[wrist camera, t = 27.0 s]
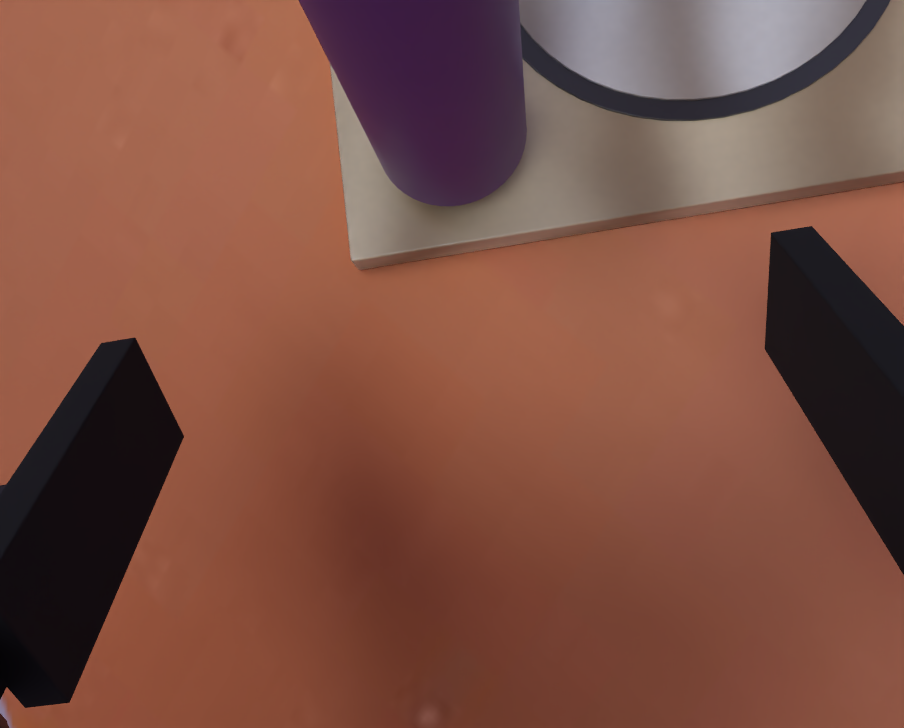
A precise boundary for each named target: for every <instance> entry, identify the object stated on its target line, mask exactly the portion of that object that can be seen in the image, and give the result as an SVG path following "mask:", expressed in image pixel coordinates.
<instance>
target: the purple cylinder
mask: <svg viewBox="0 0 904 728" xmlns="http://www.w3.org/2000/svg"><path fill="white" fill-rule="evenodd" d="M299 2H300V4H301V6H302V8H303V10H304V12H305V14H306V16H307V18H308V20H309V22H310V24H311V26H312V28H313V30H314V32H315V34H316V36H317V38H318V40H319V42H320V44H321V46H322V48H323V50H324V52H325V54H326V56H327V58H328V60H329V62H330V64H331V66H332V68H333V70H334V72H335V74H336V76H337V78H338V80H339V82H340V84H341V86H342V88H343V90H344V92H345V94H346V96H347V98H348V100H349V102H350V104H351V106H352V108H353V110H354V112H355V114H356V116H357V117H358V119H359V121H360V123H361V125H362V127H363V129H364V131H365V133H366V135H367V137H368V139H369V141H370V143H371V145H372V147H373V149H374V151H375V153H376V155H377V157H378V159H379V161H380V163H381V165H382V167H383V169H384V171H385V173H386V175H387V176H388V177H389V179H390V180H391V182H392V183H393V184H394V185H395V186H396V187H397V188H398V189H400V190H401V191H402V192H403V193H405V194H406V195H408V196H410V197H411V198H413V199H415V200H418V201H420V202H423V203H426V204H430V205H436V206H459V205H464V204H468V203H472V202H475V201H477V200H480V199H482V198H484V197H486V196H488V195H489V194H491V193H492V192H494V191H495V190H497V189H498V188H499V187H500V186H501V185H503V184H504V183H505V182H506V181H507V179H508V178H509V177H510V176H511V175H512V173H513V172H514V170H515V169H516V168H517V166H518V164H519V162H520V160H521V158H522V155H523V152H524V149H525V144H526V136H527V125H526V109H525V93H524V77H523V61H522V44H521V28H520V12H519V0H299Z"/></svg>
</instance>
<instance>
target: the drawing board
mask: <svg viewBox="0 0 904 728" xmlns="http://www.w3.org/2000/svg"><path fill="white" fill-rule="evenodd" d="M519 12H520V28H521V44H522V61H523V77H524V93H525V109H526V125H527V136H526V144H525V149H524V152H523V155H522V158H521V160H520V162H519V164H518V166H517V168H516V169H515V170H514V172H513V173H512V175H511V176H510V177H509V178H508V179H507V181H506V182H505V183H504V184H503V185H501V186H500V187H499V188H498V189H497V190H495V191H494V192H492V193H491V194H489V195H488V196H486V197H484V198H482V199H480V200H477V201H475V202H472V203H468V204H464V205H459V206H436V205H430V204H426V203H423V202H420V201H418V200H415V199H413V198H411V197H410V196H408V195H406V194H405V193H403V192H402V191H401V190H400V189H398V188H397V187H396V186H395V185H394V184H393V183H392V182H391V180H390V179H389V177H388V176H387V175H386V173H385V171H384V169H383V167H382V165H381V163H380V161H379V159H378V157H377V155H376V153H375V151H374V149H373V147H372V145H371V143H370V141H369V139H368V137H367V135H366V133H365V131H364V129H363V127H362V125H361V123H360V121H359V119H358V117H357V116H356V114H355V112H354V110H353V108H352V106H351V104H350V102H349V100H348V98H347V96H346V94H345V92H344V90H343V88H342V86H341V84H340V82H339V80H338V78H337V76H336V74H335V72H334V70H333V68H332V66H331V64H330V70H331V79H332V89H333V98H334V107H335V117H336V126H337V135H338V145H339V154H340V163H341V173H342V182H343V191H344V201H345V210H346V219H347V229H348V238H349V248H350V257H351V261H352V262H353V264H354V265H355V266H356V267H357V268H358V270H363V269H369V268H375V267H382V266H388V265H394V264H400V263H406V262H412V261H419V260H425V259H431V258H437V257H443V256H449V255H455V254H462V253H468V252H474V251H480V250H486V249H492V248H499V247H505V246H511V245H517V244H523V243H529V242H536V241H542V240H548V239H554V238H560V237H566V236H573V235H579V234H585V233H591V232H597V231H603V230H610V229H616V228H622V227H628V226H634V225H640V224H647V223H653V222H659V221H665V220H671V219H677V218H683V217H690V216H696V215H702V214H708V213H714V212H720V211H727V210H733V209H739V208H745V207H751V206H757V205H764V204H770V203H776V202H782V201H788V200H794V199H801V198H807V197H813V196H819V195H825V194H831V193H838V192H844V191H850V190H856V189H862V188H868V187H875V186H881V185H887V184H893V183H899V182H904V0H519Z"/></svg>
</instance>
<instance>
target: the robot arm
mask: <svg viewBox="0 0 904 728" xmlns="http://www.w3.org/2000/svg"><path fill="white" fill-rule="evenodd" d="M765 350H766V352H767V353H768V355H769V357H770V358H771V360H772V361H773V363H774V365H775V366H776V368H777V370H778V371H779V373H780V374H781V376H782V378H783V379H784V381H785V383H786V384H787V386H788V387H789V389H790V391H791V392H792V394H793V396H794V397H795V399H796V400H797V402H798V404H799V405H800V407H801V409H802V410H803V412H804V413H805V415H806V417H807V418H808V420H809V422H810V423H811V425H812V426H813V428H814V430H815V431H816V433H817V435H818V436H819V438H820V439H821V441H822V443H823V444H824V446H825V448H826V449H827V451H828V452H829V454H830V456H831V457H832V459H833V461H834V462H835V464H836V465H837V467H838V469H839V470H840V472H841V474H842V475H843V477H844V479H845V480H846V482H847V483H848V485H849V487H850V488H851V490H852V492H853V493H854V495H855V496H856V498H857V500H858V501H859V503H860V505H861V506H862V508H863V509H864V511H865V513H866V514H867V516H868V518H869V519H870V521H871V522H872V524H873V526H874V527H875V529H876V531H877V532H878V534H879V535H880V537H881V539H882V540H883V542H884V544H885V545H886V547H887V548H888V550H889V552H890V553H891V555H892V557H893V558H894V560H895V561H896V563H897V565H898V566H899V568H900V570H901V571H902V573H903V574H904V326H903V325H902V324H901V323H900V322H899V320H898V319H897V318H896V317H895V316H894V315H893V314H892V313H891V312H890V311H889V310H888V308H887V307H886V306H885V305H884V304H883V303H882V302H881V301H880V300H879V299H878V298H877V297H876V295H875V294H874V293H873V292H872V291H871V290H870V289H869V288H868V287H867V286H866V285H865V284H864V282H863V281H862V280H861V279H860V278H859V277H858V276H857V275H856V274H855V273H854V272H853V271H852V269H851V268H850V267H849V266H848V265H847V264H846V263H845V262H844V261H843V260H842V259H841V258H840V256H839V255H838V254H837V253H836V252H835V251H834V250H833V249H832V248H831V247H830V246H829V245H828V243H827V242H826V241H825V240H824V239H823V238H822V237H821V236H820V235H819V234H818V233H817V232H816V230H815V229H814V228H813V227H812V226H810V227H804V228H798V229H792V230H785V231H779V232H773V233H771V245H770V264H769V282H768V300H767V318H766V336H765ZM183 438H184V436H183V433H182V431H181V429H180V427H179V425H178V423H177V421H176V419H175V417H174V415H173V413H172V411H171V409H170V407H169V405H168V403H167V401H166V399H165V397H164V395H163V393H162V391H161V389H160V387H159V385H158V383H157V381H156V379H155V377H154V375H153V373H152V371H151V369H150V366H149V364H148V362H147V360H146V358H145V356H144V354H143V352H142V350H141V348H140V346H139V344H138V342H137V340H136V338H130V339H124V340H118V341H112V342H106V343H101V344H100V346H99V347H98V349H97V350H96V352H95V353H94V355H93V356H92V358H91V359H90V361H89V362H88V364H87V365H86V367H85V368H84V370H83V371H82V373H81V374H80V376H79V377H78V379H77V380H76V382H75V383H74V385H73V386H72V388H71V389H70V391H69V392H68V394H67V395H66V397H65V398H64V400H63V401H62V403H61V404H60V406H59V407H58V409H57V410H56V411H55V413H54V414H53V416H52V417H51V419H50V420H49V422H48V423H47V425H46V426H45V428H44V429H43V431H42V432H41V434H40V435H39V437H38V438H37V440H36V441H35V443H34V444H33V446H32V447H31V449H30V450H29V452H28V453H27V455H26V456H25V458H24V459H23V461H22V462H21V464H20V465H19V467H18V468H17V470H16V471H15V473H14V474H13V476H12V477H11V479H10V480H9V482H8V483H7V485H1V486H0V699H1V697H2V695H3V693H4V691H5V689H6V687H8V689H9V690H10V691H11V692H12V693H13V694H14V695H15V697H16V698H17V699H18V700H19V701H20V702H21V704H22V705H23V706H24V707H25V708H27V707H36V706H44V705H53V704H61V703H70V700H71V698H72V696H73V693H74V691H75V689H76V686H77V684H78V682H79V679H80V677H81V675H82V672H83V670H84V668H85V665H86V663H87V661H88V658H89V656H90V654H91V651H92V649H93V647H94V644H95V642H96V640H97V638H98V635H99V633H100V631H101V628H102V626H103V624H104V621H105V619H106V617H107V614H108V612H109V610H110V607H111V605H112V603H113V600H114V598H115V596H116V593H117V591H118V589H119V586H120V584H121V582H122V579H123V577H124V575H125V572H126V570H127V568H128V565H129V563H130V561H131V558H132V556H133V554H134V551H135V549H136V547H137V544H138V542H139V540H140V538H141V535H142V533H143V531H144V528H145V526H146V524H147V521H148V519H149V517H150V514H151V512H152V510H153V507H154V505H155V503H156V500H157V498H158V496H159V493H160V491H161V489H162V486H163V484H164V482H165V479H166V477H167V475H168V472H169V470H170V468H171V465H172V463H173V461H174V458H175V456H176V454H177V451H178V449H179V447H180V444H181V442H182V440H183ZM0 728H9V726H8V724H7V721H6V719H5V718H4V717H3V716H2V715H1V714H0Z"/></svg>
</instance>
